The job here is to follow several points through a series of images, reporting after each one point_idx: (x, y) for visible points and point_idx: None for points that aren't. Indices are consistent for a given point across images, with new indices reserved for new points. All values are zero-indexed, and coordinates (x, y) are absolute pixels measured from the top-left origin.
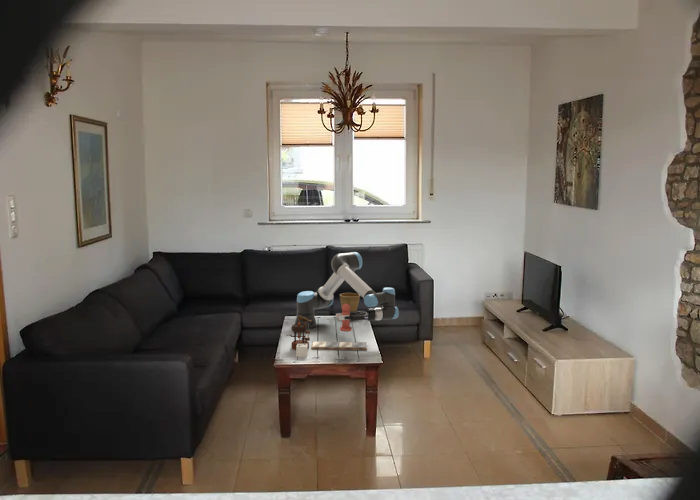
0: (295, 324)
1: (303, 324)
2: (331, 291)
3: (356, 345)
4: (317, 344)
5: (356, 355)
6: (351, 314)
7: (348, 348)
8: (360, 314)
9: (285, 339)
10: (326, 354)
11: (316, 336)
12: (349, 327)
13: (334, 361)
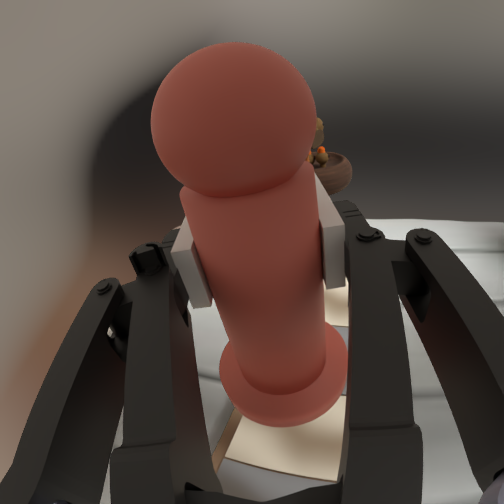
0: (335, 155)
1: (333, 166)
2: None
3: (251, 493)
4: (326, 292)
5: (122, 440)
6: (350, 320)
7: (224, 433)
8: (122, 458)
9: (427, 221)
10: (202, 324)
11: (497, 298)
12: (255, 386)
13: (111, 334)
